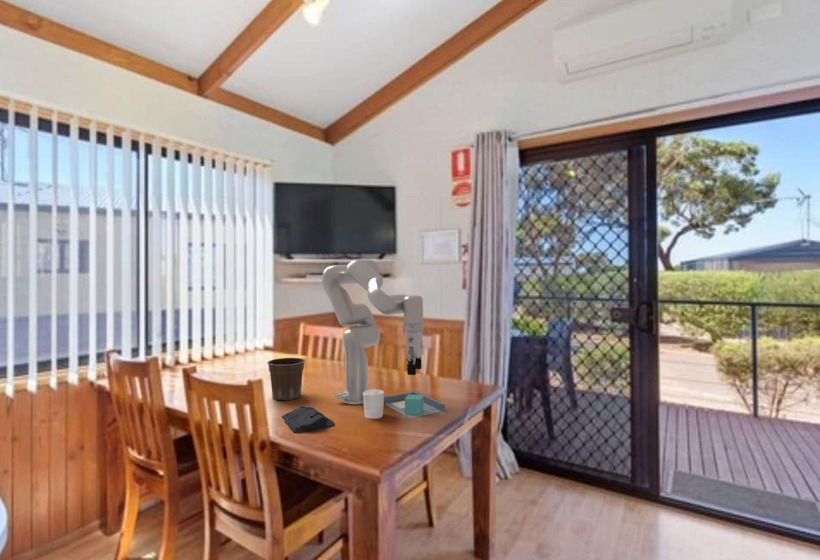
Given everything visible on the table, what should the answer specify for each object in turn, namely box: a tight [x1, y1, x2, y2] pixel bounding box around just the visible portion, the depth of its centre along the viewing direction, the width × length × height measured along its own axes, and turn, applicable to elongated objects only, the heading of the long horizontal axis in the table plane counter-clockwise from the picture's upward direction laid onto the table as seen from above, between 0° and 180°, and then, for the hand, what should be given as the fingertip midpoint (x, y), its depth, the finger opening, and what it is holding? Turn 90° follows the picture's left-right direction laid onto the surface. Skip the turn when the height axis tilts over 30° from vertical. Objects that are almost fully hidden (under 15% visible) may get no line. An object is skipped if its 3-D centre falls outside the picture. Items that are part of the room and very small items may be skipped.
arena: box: [384, 390, 446, 419], centre depth 180 cm, size 16×22×4 cm
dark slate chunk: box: [281, 406, 336, 434], centre depth 167 cm, size 15×22×5 cm
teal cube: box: [405, 394, 424, 415], centre depth 173 cm, size 6×6×6 cm
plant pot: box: [266, 357, 306, 401], centre depth 199 cm, size 16×16×16 cm
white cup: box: [363, 388, 385, 420], centre depth 170 cm, size 8×8×10 cm
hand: (414, 371), depth 173 cm, fingers open, 9 cm apart
